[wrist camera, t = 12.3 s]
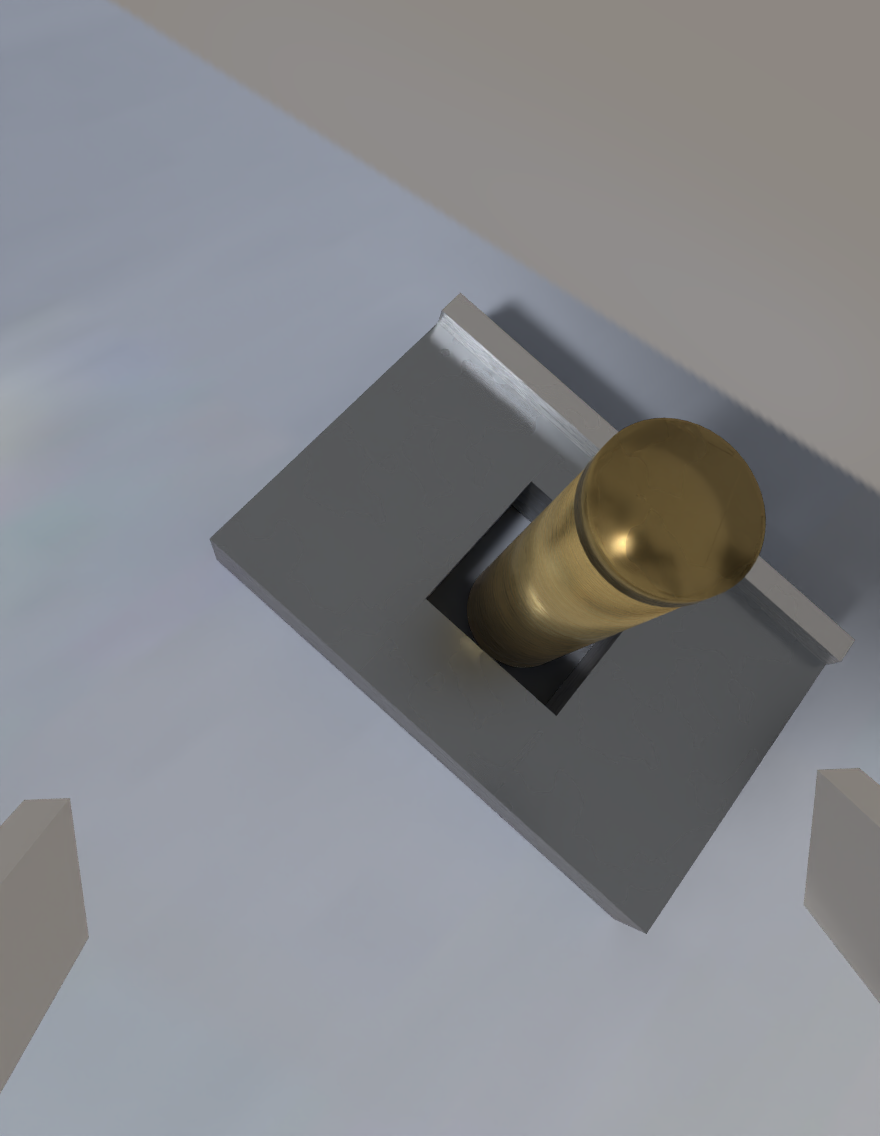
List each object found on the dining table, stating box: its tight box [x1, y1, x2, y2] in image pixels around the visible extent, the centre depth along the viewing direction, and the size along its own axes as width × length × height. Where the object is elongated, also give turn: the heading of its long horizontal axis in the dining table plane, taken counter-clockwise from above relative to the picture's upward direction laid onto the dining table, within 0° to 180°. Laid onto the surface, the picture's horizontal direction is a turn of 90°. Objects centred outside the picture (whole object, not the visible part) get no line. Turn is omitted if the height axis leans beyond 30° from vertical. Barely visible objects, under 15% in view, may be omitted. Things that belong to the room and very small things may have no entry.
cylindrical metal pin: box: [467, 418, 766, 668], centre depth 23 cm, size 4×4×12 cm
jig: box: [210, 293, 855, 934], centre depth 27 cm, size 18×12×3 cm, turn 49°
